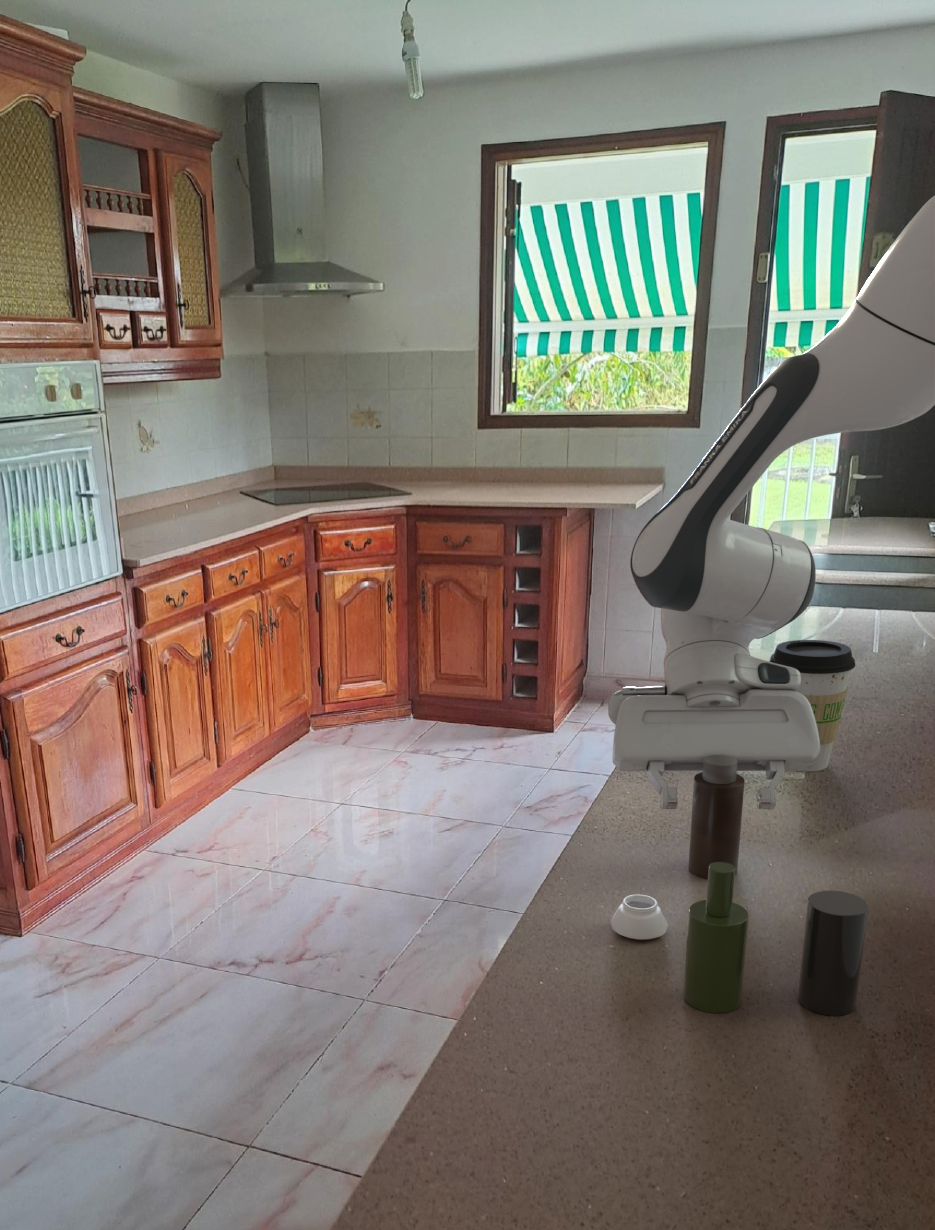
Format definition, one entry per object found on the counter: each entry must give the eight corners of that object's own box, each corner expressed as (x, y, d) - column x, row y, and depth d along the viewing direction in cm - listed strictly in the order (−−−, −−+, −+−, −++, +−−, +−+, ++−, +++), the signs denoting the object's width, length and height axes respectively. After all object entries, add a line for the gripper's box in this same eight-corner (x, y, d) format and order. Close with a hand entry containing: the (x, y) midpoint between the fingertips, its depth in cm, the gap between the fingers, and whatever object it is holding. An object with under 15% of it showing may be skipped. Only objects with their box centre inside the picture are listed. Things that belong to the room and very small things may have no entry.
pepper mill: (732, 860, 117) (741, 751, 113) (741, 880, 113) (750, 768, 108) (685, 859, 118) (691, 751, 113) (691, 879, 113) (699, 768, 109)
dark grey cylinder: (847, 987, 93) (859, 890, 90) (862, 1016, 89) (875, 916, 86) (792, 986, 94) (802, 889, 91) (804, 1015, 90) (815, 915, 86)
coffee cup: (790, 781, 137) (802, 661, 131) (745, 756, 146) (754, 643, 140) (861, 770, 139) (875, 652, 133) (812, 746, 148) (823, 635, 142)
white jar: (661, 946, 101) (670, 922, 105) (663, 917, 100) (672, 893, 104) (606, 938, 103) (617, 914, 107) (607, 909, 102) (618, 886, 106)
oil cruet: (735, 984, 95) (746, 855, 90) (746, 1014, 90) (758, 879, 86) (679, 982, 95) (687, 854, 91) (687, 1012, 91) (696, 879, 87)
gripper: (609, 672, 117) (614, 794, 111) (816, 670, 113) (831, 795, 108) (605, 701, 122) (609, 818, 117) (801, 699, 119) (815, 819, 114)
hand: (717, 807), depth 112 cm, fingers open, 8 cm apart
